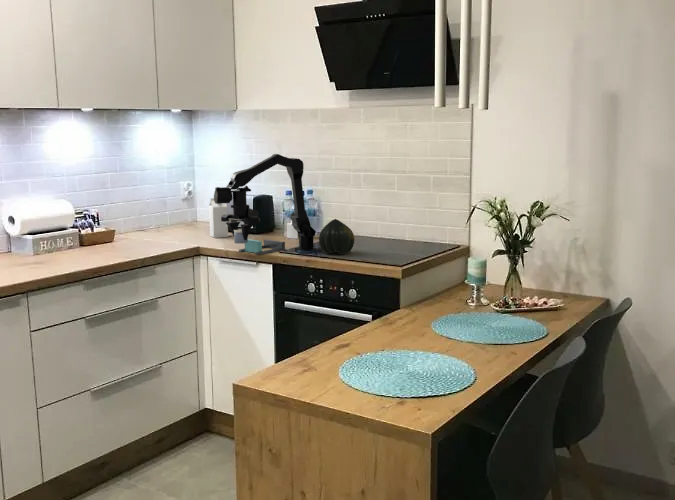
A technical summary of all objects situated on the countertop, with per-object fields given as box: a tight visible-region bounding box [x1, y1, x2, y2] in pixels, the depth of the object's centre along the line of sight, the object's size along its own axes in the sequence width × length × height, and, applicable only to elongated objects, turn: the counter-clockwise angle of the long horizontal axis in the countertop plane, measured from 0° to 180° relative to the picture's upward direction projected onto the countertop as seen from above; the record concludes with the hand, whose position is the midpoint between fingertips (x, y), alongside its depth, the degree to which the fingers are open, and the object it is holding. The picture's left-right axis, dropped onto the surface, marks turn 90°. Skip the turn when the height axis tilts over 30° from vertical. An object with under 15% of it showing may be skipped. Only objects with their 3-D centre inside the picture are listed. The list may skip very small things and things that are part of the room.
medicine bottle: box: [286, 212, 300, 240], centre depth 355 cm, size 7×7×12 cm
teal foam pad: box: [244, 238, 263, 254], centre depth 316 cm, size 2×9×5 cm, turn 48°
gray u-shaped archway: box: [238, 238, 286, 256], centre depth 320 cm, size 16×12×4 cm
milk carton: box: [208, 197, 229, 239], centre depth 360 cm, size 7×7×19 cm
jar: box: [233, 228, 249, 245], centre depth 311 cm, size 6×6×5 cm
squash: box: [318, 218, 355, 255], centre depth 313 cm, size 14×15×15 cm
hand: (241, 239), depth 311 cm, fingers closed on jar, 6 cm apart
